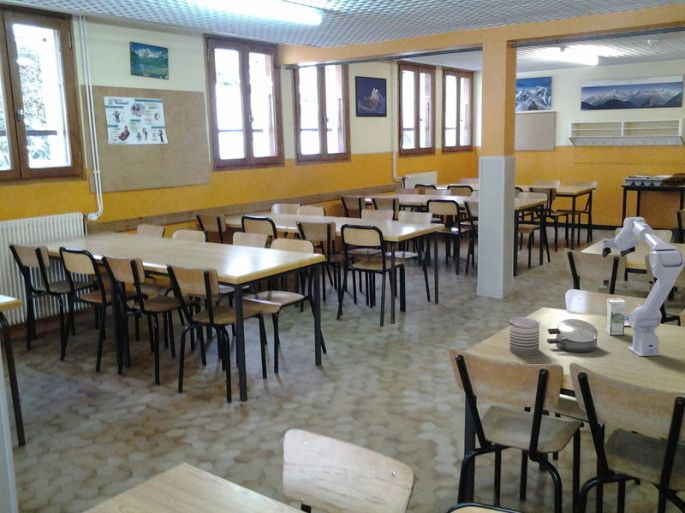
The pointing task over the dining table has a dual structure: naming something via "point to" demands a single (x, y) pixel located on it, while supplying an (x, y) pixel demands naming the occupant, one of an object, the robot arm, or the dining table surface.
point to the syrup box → (615, 316)
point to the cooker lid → (576, 330)
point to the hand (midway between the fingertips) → (612, 255)
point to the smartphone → (626, 322)
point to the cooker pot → (573, 345)
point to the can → (524, 335)
